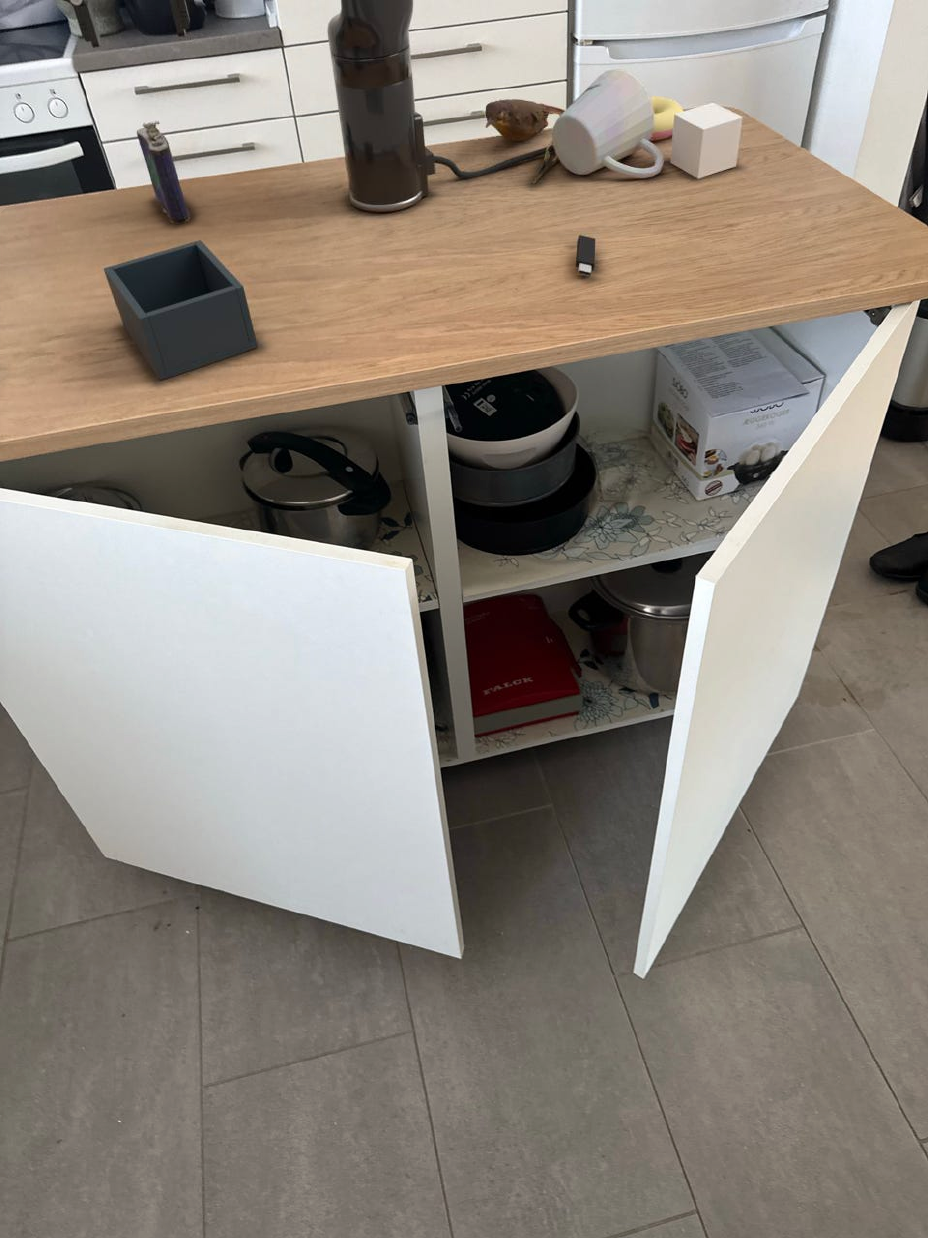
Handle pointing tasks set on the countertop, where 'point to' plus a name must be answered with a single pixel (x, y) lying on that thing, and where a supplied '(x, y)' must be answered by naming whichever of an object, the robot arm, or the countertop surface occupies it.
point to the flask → (163, 173)
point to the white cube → (705, 140)
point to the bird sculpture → (519, 117)
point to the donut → (664, 117)
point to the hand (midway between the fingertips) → (139, 39)
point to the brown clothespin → (544, 167)
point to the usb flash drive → (585, 255)
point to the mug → (607, 127)
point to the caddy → (182, 308)
